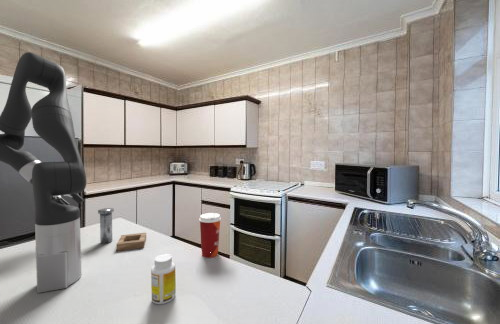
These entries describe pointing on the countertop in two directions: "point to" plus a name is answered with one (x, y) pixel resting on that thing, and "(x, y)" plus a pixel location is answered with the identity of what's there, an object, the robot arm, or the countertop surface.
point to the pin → (105, 225)
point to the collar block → (131, 241)
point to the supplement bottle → (163, 279)
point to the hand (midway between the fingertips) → (75, 204)
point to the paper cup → (210, 234)
